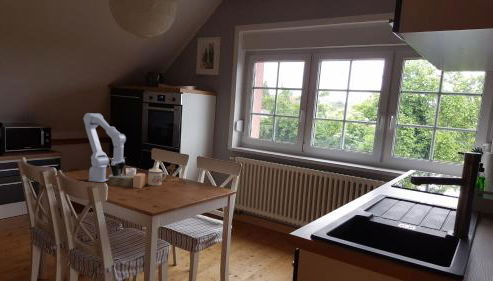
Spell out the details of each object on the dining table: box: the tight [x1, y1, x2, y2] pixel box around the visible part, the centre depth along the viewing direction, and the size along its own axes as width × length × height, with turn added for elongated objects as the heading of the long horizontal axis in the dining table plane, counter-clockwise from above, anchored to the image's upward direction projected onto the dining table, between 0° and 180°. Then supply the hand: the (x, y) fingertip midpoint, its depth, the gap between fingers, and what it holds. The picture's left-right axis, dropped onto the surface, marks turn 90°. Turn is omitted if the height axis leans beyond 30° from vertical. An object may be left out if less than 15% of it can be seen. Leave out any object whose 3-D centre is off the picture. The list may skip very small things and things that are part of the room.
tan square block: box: [132, 172, 146, 189], centre depth 217 cm, size 4×8×8 cm, turn 176°
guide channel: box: [108, 176, 133, 188], centre depth 218 cm, size 15×6×4 cm, turn 86°
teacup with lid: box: [147, 166, 167, 187], centre depth 227 cm, size 12×9×12 cm
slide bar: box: [107, 169, 133, 181], centre depth 218 cm, size 14×3×7 cm, turn 86°
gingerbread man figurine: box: [164, 163, 180, 183], centre depth 241 cm, size 9×4×12 cm, turn 129°
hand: (117, 174), depth 218 cm, fingers open, 7 cm apart
